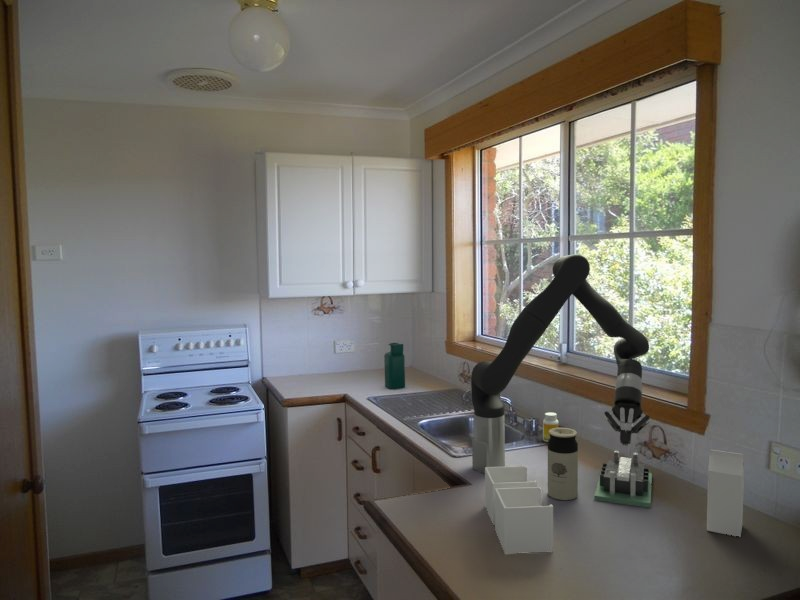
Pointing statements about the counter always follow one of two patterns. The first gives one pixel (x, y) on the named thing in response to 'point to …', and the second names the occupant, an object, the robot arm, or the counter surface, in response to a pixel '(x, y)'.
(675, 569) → the counter surface
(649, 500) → the circuit board
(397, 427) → the counter surface
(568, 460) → the travel mug
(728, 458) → the milk carton
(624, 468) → the retention strap
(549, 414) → the supplement bottle
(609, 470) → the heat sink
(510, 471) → the white divided organizer
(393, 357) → the green bottle
